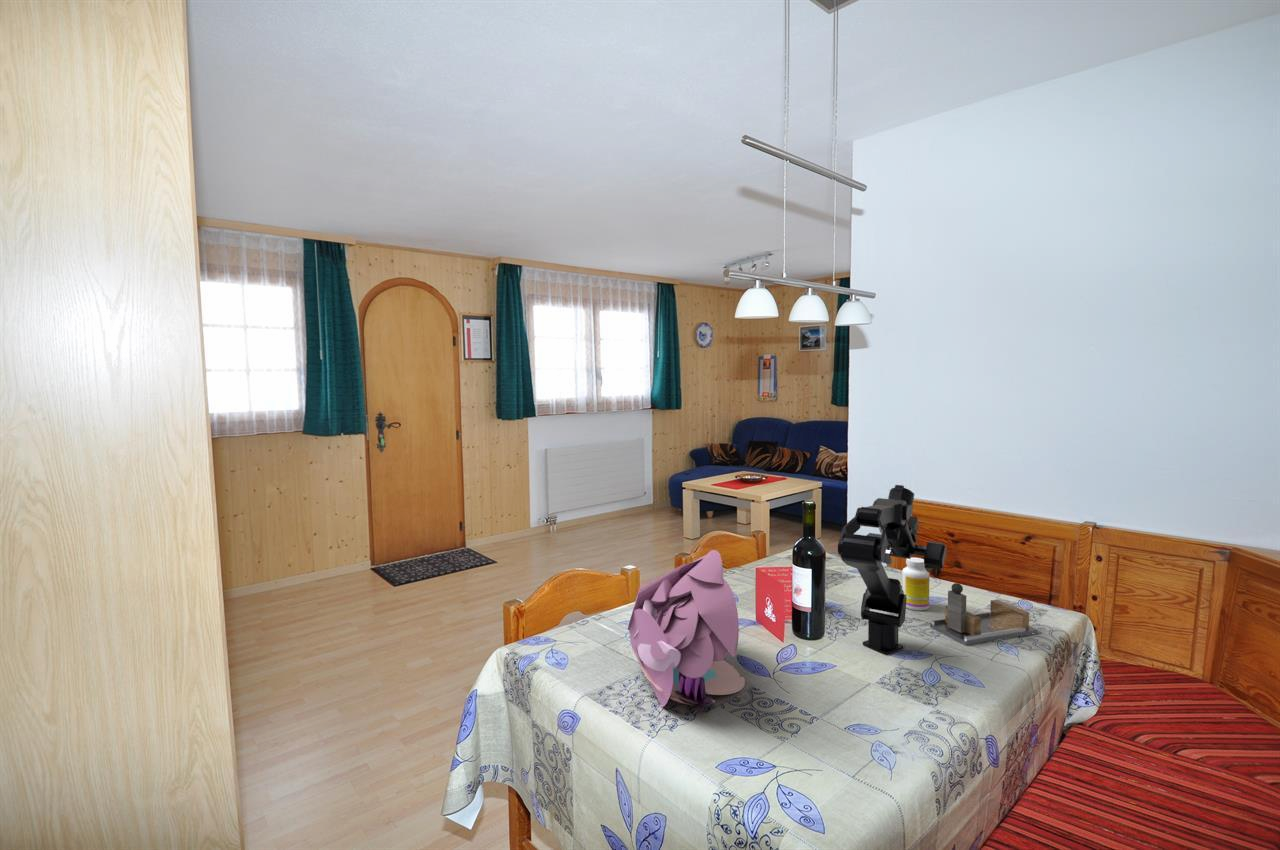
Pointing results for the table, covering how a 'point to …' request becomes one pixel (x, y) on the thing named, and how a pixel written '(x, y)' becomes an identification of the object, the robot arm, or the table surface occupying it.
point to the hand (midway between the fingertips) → (909, 567)
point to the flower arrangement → (687, 633)
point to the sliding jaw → (960, 613)
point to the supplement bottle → (916, 584)
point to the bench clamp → (991, 625)
